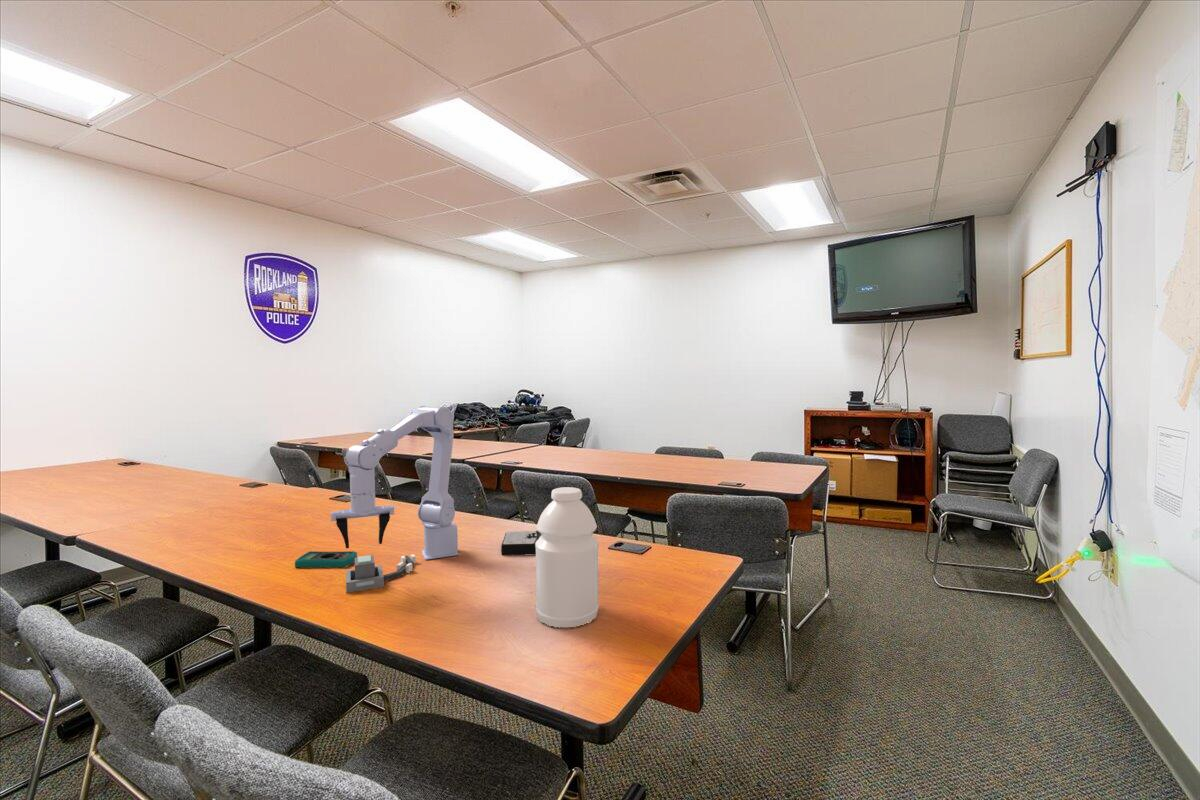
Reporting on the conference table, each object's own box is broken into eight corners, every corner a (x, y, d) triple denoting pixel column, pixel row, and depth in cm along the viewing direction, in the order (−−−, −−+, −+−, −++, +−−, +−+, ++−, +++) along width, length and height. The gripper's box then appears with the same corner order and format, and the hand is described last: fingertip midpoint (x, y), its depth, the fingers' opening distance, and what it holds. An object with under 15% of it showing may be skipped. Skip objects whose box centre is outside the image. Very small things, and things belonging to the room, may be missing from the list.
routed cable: (423, 559, 149) (423, 552, 149) (400, 581, 133) (400, 574, 133) (404, 559, 150) (404, 552, 149) (380, 581, 134) (379, 574, 133)
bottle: (591, 632, 107) (591, 498, 106) (527, 627, 109) (526, 496, 108) (603, 603, 121) (603, 484, 120) (545, 598, 123) (545, 482, 122)
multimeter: (566, 555, 154) (566, 538, 154) (501, 557, 153) (500, 540, 153) (565, 541, 167) (565, 525, 167) (505, 542, 166) (505, 527, 166)
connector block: (373, 577, 137) (373, 553, 136) (375, 585, 131) (374, 560, 131) (355, 580, 135) (354, 556, 134) (355, 589, 129) (354, 563, 129)
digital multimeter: (347, 569, 144) (347, 558, 143) (293, 569, 143) (293, 559, 143) (359, 559, 151) (359, 549, 151) (308, 560, 151) (307, 550, 150)
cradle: (381, 574, 139) (381, 565, 138) (383, 587, 130) (383, 577, 130) (346, 579, 135) (346, 570, 135) (346, 593, 126) (346, 583, 126)
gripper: (330, 498, 125) (331, 554, 126) (394, 492, 131) (395, 545, 132) (331, 492, 131) (332, 545, 132) (392, 487, 138) (393, 537, 138)
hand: (364, 545), depth 132 cm, fingers open, 7 cm apart
